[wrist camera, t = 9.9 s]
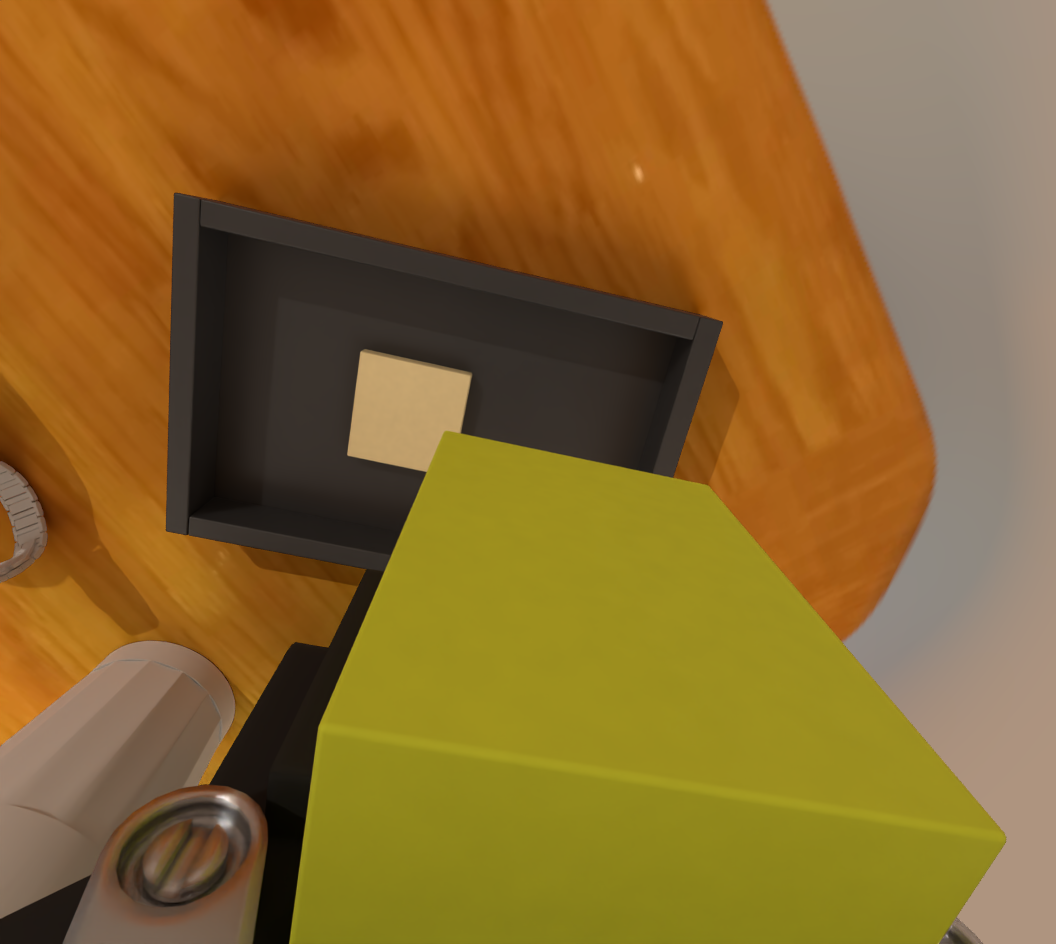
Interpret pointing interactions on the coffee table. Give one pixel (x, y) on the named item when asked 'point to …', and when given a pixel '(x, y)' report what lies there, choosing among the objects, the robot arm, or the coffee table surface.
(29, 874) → the cup
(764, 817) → the yellow-green rectangular block
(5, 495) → the wristwatch
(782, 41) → the coffee table surface
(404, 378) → the beige flat square block
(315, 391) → the pan
